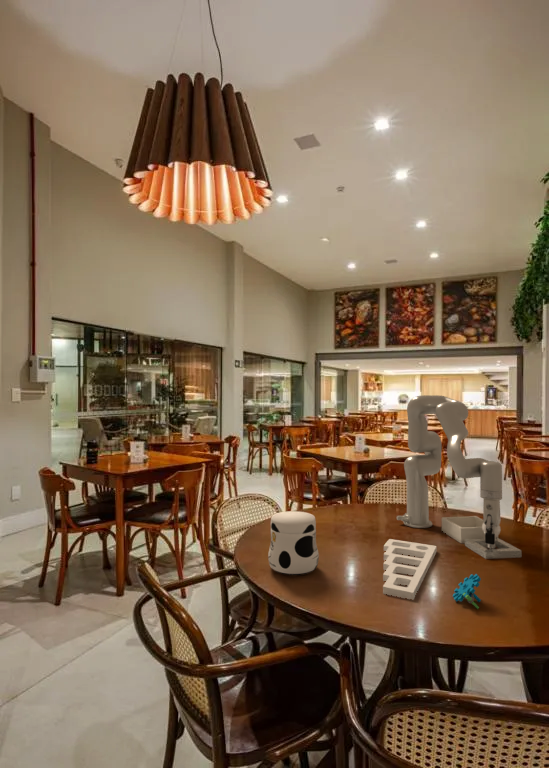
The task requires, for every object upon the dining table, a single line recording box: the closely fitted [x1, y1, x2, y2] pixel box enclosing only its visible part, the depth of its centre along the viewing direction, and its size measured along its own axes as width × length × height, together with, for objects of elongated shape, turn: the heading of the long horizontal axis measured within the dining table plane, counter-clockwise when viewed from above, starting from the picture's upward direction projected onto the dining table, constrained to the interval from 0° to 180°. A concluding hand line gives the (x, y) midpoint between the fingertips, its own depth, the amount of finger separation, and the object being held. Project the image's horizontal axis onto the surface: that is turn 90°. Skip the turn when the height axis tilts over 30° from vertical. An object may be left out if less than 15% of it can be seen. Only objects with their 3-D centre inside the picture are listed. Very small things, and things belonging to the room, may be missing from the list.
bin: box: [441, 515, 499, 544], centre depth 188 cm, size 16×16×6 cm
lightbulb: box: [482, 523, 502, 549], centre depth 171 cm, size 6×6×11 cm
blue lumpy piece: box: [452, 573, 482, 610], centre depth 129 cm, size 11×6×10 cm
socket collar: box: [464, 537, 523, 560], centre depth 170 cm, size 14×14×2 cm
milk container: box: [267, 510, 320, 577], centre depth 153 cm, size 17×17×18 cm
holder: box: [382, 538, 437, 601], centre depth 154 cm, size 45×18×3 cm, turn 152°
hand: (491, 540), depth 170 cm, fingers closed on lightbulb, 6 cm apart
